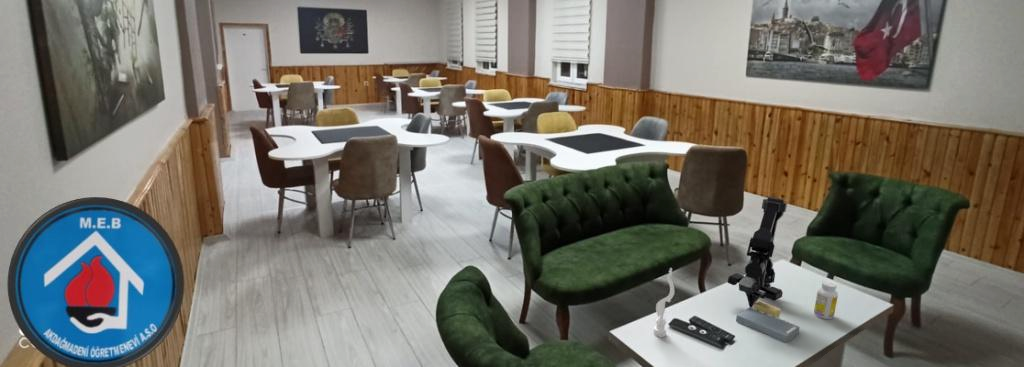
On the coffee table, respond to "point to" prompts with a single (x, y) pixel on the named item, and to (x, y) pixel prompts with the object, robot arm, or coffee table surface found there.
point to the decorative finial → (663, 309)
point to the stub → (767, 308)
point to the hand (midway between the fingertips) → (751, 307)
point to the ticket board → (768, 324)
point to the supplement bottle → (826, 300)
